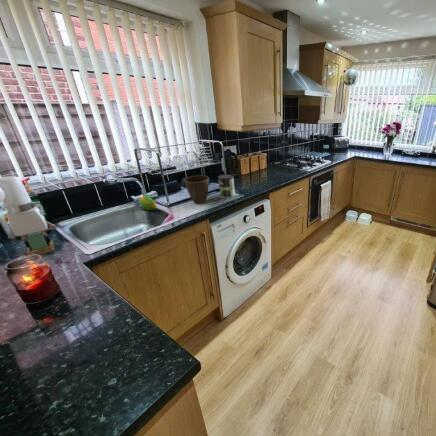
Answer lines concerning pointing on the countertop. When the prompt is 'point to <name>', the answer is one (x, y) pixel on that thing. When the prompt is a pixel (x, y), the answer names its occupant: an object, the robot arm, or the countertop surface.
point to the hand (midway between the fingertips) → (40, 245)
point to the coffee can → (226, 186)
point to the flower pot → (197, 188)
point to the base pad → (41, 251)
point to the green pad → (36, 241)
